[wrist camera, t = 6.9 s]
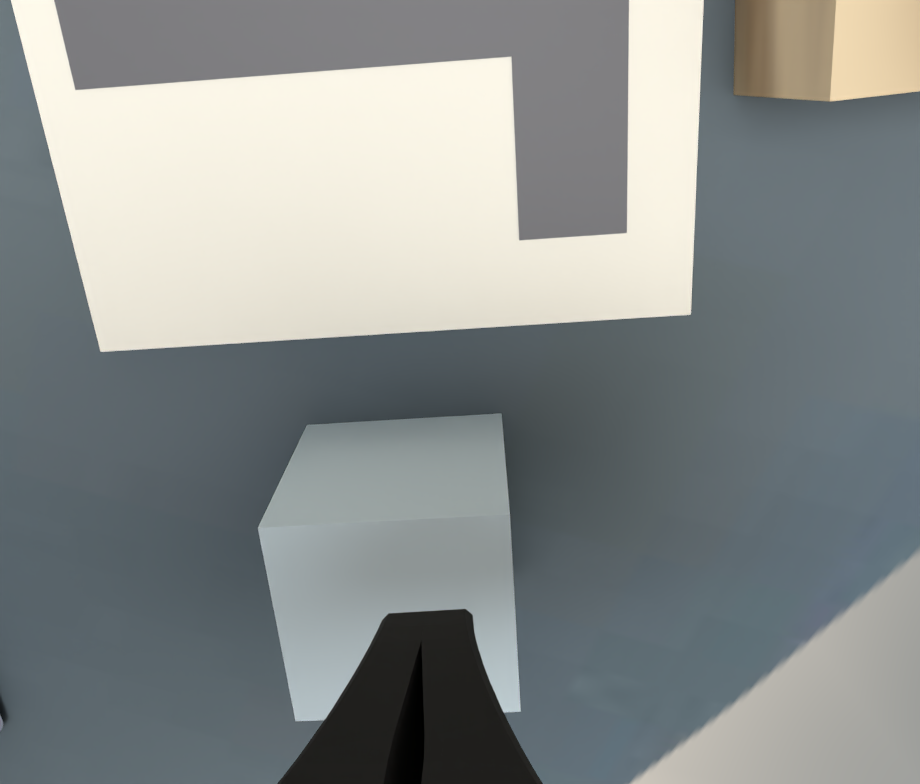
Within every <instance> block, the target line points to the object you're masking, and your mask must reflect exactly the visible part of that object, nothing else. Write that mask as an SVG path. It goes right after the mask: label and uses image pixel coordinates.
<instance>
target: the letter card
mask: <svg viewBox="0 0 920 784" xmlns="http://www.w3.org/2000/svg"><path fill="white" fill-rule="evenodd" d="M11 2H12V6H13V10H14V14H15V18H16V22H17V26H18V30H19V33H20V37H21V41H22V45H23V49H24V53H25V57H26V61H27V65H28V69H29V73H30V77H31V81H32V84H33V88H34V92H35V96H36V100H37V104H38V108H39V112H40V116H41V120H42V124H43V128H44V132H45V135H46V139H47V143H48V147H49V151H50V155H51V159H52V163H53V167H54V171H55V175H56V179H57V183H58V186H59V190H60V194H61V198H62V202H63V206H64V210H65V214H66V218H67V222H68V226H69V230H70V234H71V237H72V241H73V245H74V249H75V253H76V257H77V261H78V265H79V269H80V273H81V277H82V281H83V285H84V288H85V292H86V296H87V300H88V304H89V308H90V312H91V316H92V320H93V324H94V328H95V332H96V336H97V339H98V343H99V347H100V351H101V352H106V351H122V350H138V349H154V348H170V347H186V346H202V345H217V344H233V343H249V342H265V341H281V340H297V339H312V338H328V337H344V336H360V335H376V334H392V333H408V332H423V331H439V330H455V329H471V328H487V327H503V326H518V325H534V324H550V323H566V322H582V321H598V320H614V319H629V318H645V317H661V316H677V315H691V298H692V273H693V249H694V224H695V200H696V175H697V151H698V126H699V101H700V77H701V52H702V28H703V3H704V0H11Z"/></svg>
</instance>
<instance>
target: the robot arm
mask: <svg viewBox="0 0 920 784" xmlns="http://www.w3.org/2000/svg"><path fill="white" fill-rule="evenodd" d="M2 728H3V721H2V718H1V715H0V732H1V730H2ZM278 784H543V783H542V782H541V780H540V779H539V777H538V776H537V774H536V772H535V771H534V769H533V767H532V765H531V764H530V762H529V760H528V759H527V757H526V755H525V753H524V751H523V750H522V748H521V746H520V744H519V742H518V740H517V738H516V736H515V734H514V733H513V731H512V729H511V727H510V725H509V723H508V721H507V719H506V717H505V715H504V713H503V710H502V708H501V706H500V704H499V701H498V699H497V697H496V694H495V692H494V690H493V687H492V685H491V683H490V681H489V678H488V675H487V673H486V670H485V667H484V664H483V661H482V658H481V655H480V652H479V649H478V645H477V642H476V637H475V633H474V623H473V615H472V614H471V613H470V612H469V611H467V610H466V609H455V610H438V611H420V612H403V613H388V615H387V616H386V617H385V618H384V619H383V620H382V621H381V624H380V626H379V628H378V630H377V632H376V634H375V636H374V638H373V640H372V642H371V644H370V646H369V648H368V650H367V651H366V653H365V655H364V657H363V659H362V660H361V662H360V664H359V666H358V667H357V669H356V671H355V673H354V674H353V676H352V678H351V679H350V681H349V683H348V684H347V686H346V687H345V689H344V691H343V692H342V694H341V695H340V697H339V699H338V700H337V702H336V703H335V705H334V707H333V708H332V710H331V711H330V713H329V714H328V716H327V717H326V719H325V720H324V722H323V723H322V724H321V726H320V727H319V729H318V730H317V732H316V733H315V734H314V736H313V737H312V739H311V740H310V741H309V743H308V744H307V746H306V747H305V748H304V750H303V751H302V753H301V754H300V755H299V757H298V758H297V759H296V761H295V762H294V763H293V765H292V766H291V767H290V768H289V770H288V771H287V772H286V774H285V775H284V776H283V777H282V779H281V780H280V781H279V782H278Z"/></svg>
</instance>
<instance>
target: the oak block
mask: <svg viewBox="0 0 920 784" xmlns="http://www.w3.org/2000/svg"><path fill="white" fill-rule="evenodd" d="M917 91H920V0H735V47H734V95H741V96H756V97H771V98H786V99H801V100H816V101H838V100H847V99H856V98H864V97H873V96H882V95H891V94H899V93H908V92H917Z"/></svg>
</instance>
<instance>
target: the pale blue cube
mask: <svg viewBox="0 0 920 784" xmlns="http://www.w3.org/2000/svg"><path fill="white" fill-rule="evenodd" d="M258 531H259V536H260V541H261V547H262V552H263V557H264V562H265V567H266V572H267V577H268V582H269V588H270V593H271V598H272V603H273V608H274V613H275V618H276V623H277V629H278V634H279V639H280V644H281V649H282V654H283V659H284V664H285V670H286V675H287V680H288V685H289V690H290V695H291V700H292V705H293V711H294V716H295V721H314V720H325V719H326V717H327V716H328V714H329V713H330V711H331V710H332V708H333V707H334V705H335V703H336V702H337V700H338V699H339V697H340V695H341V694H342V692H343V691H344V689H345V687H346V686H347V684H348V683H349V681H350V679H351V678H352V676H353V674H354V673H355V671H356V669H357V667H358V666H359V664H360V662H361V660H362V659H363V657H364V655H365V653H366V651H367V650H368V648H369V646H370V644H371V642H372V640H373V638H374V636H375V634H376V632H377V630H378V628H379V626H380V624H381V621H382V620H383V619H384V618H385V617H386V616H387V615H388V613H403V612H420V611H438V610H455V609H466V610H467V611H469V612H470V613H471V614H472V615H473V623H474V633H475V637H476V642H477V645H478V649H479V652H480V655H481V658H482V661H483V664H484V667H485V670H486V673H487V675H488V678H489V681H490V683H491V685H492V687H493V690H494V692H495V694H496V697H497V699H498V701H499V704H500V706H501V708H502V710H503V712H521V709H520V690H519V672H518V654H517V635H516V617H515V598H514V580H513V562H512V543H511V525H510V509H509V497H508V485H507V473H506V461H505V449H504V437H503V425H502V413H499V414H482V415H465V416H448V417H432V418H415V419H398V420H381V421H364V422H347V423H330V424H314V425H307V426H306V428H305V430H304V432H303V434H302V436H301V438H300V440H299V442H298V445H297V447H296V449H295V451H294V453H293V455H292V457H291V459H290V461H289V464H288V466H287V468H286V470H285V472H284V474H283V476H282V478H281V480H280V482H279V485H278V487H277V489H276V491H275V493H274V495H273V497H272V499H271V501H270V503H269V506H268V508H267V510H266V512H265V514H264V516H263V518H262V520H261V522H260V524H259V527H258Z"/></svg>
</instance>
